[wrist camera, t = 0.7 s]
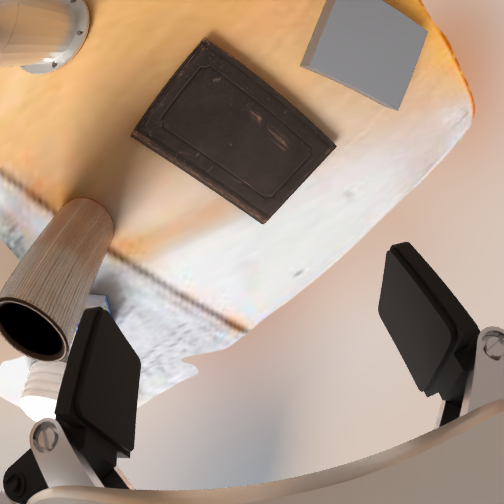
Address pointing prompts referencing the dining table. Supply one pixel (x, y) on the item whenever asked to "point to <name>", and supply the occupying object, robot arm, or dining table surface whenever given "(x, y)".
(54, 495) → the robot arm
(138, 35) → the dining table surface
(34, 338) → the planter
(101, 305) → the medicine box
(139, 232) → the dining table surface
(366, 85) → the plate
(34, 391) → the plate stack
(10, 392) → the dining table surface
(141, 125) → the hardcover book
